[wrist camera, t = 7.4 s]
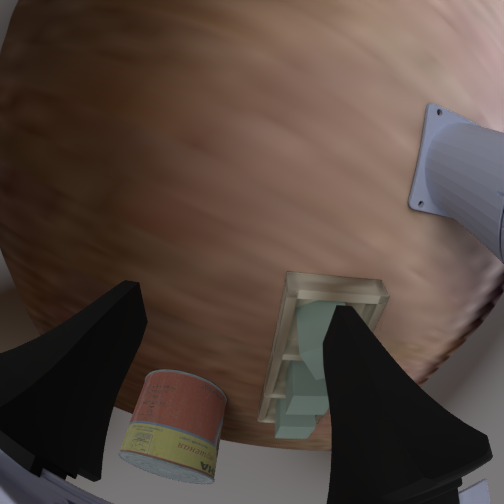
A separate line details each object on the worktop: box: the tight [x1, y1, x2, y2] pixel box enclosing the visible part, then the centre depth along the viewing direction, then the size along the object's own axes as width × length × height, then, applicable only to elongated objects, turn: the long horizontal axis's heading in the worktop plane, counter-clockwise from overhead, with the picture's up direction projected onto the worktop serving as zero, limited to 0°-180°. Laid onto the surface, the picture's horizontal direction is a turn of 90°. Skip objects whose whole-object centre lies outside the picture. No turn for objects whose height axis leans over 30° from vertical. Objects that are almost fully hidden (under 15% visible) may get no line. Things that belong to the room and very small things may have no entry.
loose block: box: [296, 300, 346, 380], centre depth 20 cm, size 4×4×5 cm
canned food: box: [118, 369, 227, 484], centre depth 27 cm, size 11×11×12 cm
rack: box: [258, 271, 390, 424], centre depth 25 cm, size 8×23×2 cm, turn 175°
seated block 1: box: [286, 360, 329, 415], centre depth 24 cm, size 4×4×5 cm
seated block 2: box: [275, 398, 316, 439], centre depth 28 cm, size 4×4×5 cm
